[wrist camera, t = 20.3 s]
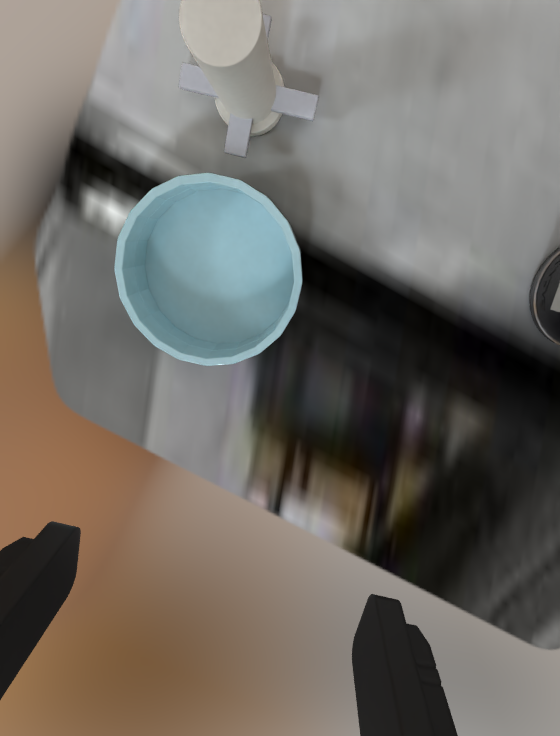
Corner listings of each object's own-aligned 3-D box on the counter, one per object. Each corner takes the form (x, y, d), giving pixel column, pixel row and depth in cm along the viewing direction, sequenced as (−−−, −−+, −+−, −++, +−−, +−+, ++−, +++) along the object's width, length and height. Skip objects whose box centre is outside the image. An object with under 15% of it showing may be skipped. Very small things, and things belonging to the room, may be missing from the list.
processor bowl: (319, 204, 35) (322, 199, 30) (281, 363, 39) (278, 383, 34) (153, 164, 35) (126, 152, 30) (132, 328, 39) (105, 342, 34)
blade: (330, 47, 32) (347, -70, 20) (301, 175, 35) (300, 142, 22) (196, 14, 32) (128, -125, 20) (177, 145, 35) (107, 96, 22)
